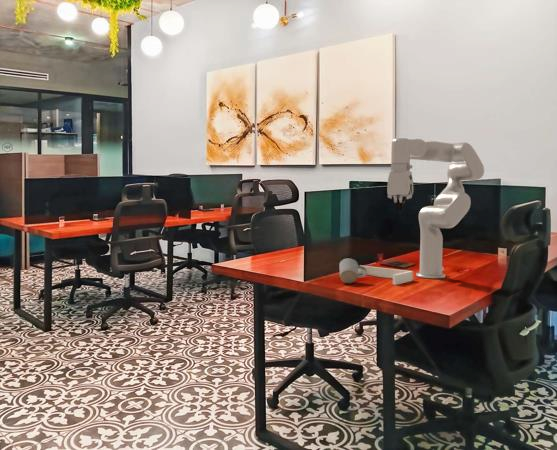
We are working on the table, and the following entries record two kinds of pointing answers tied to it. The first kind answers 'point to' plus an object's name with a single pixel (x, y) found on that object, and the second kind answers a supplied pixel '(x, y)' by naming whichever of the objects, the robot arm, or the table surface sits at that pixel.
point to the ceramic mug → (350, 270)
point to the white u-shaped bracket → (389, 274)
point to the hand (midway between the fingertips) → (399, 212)
